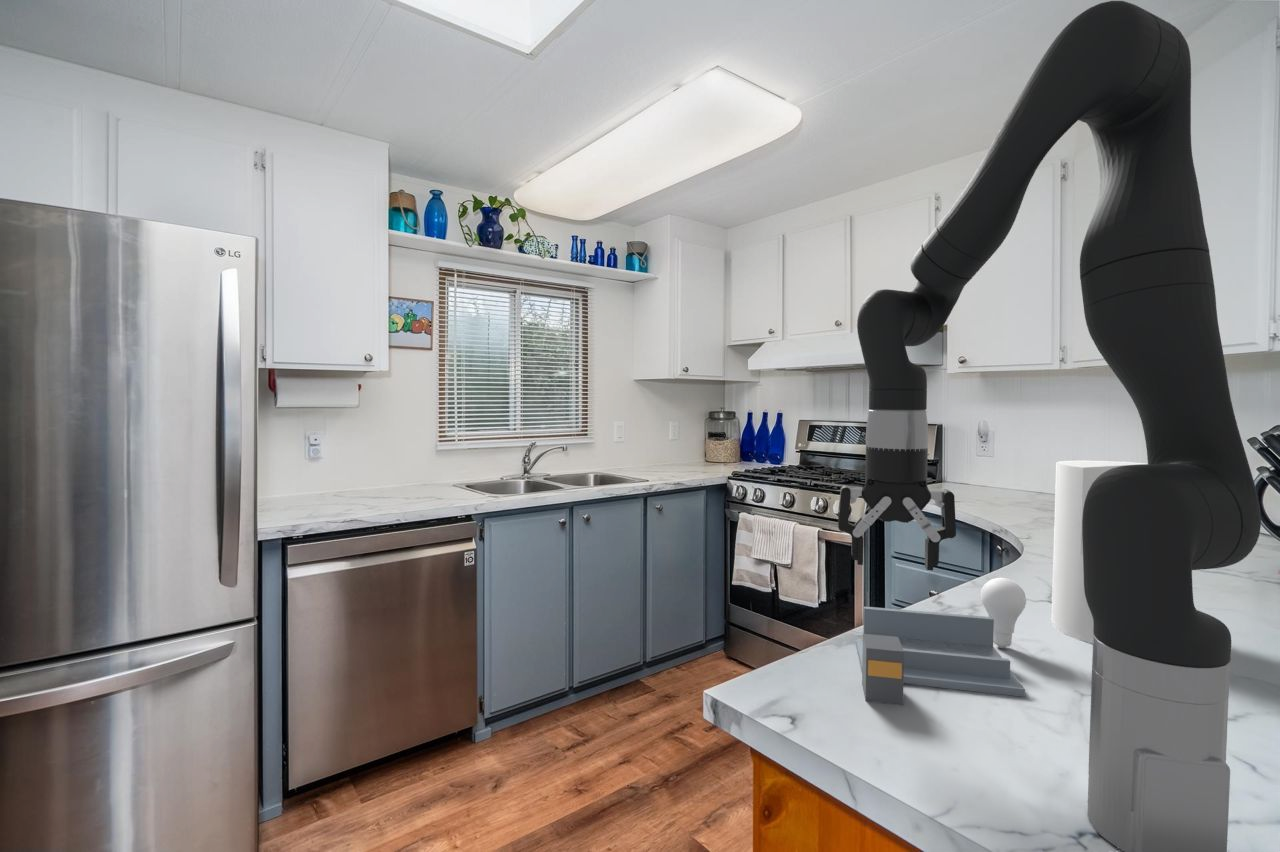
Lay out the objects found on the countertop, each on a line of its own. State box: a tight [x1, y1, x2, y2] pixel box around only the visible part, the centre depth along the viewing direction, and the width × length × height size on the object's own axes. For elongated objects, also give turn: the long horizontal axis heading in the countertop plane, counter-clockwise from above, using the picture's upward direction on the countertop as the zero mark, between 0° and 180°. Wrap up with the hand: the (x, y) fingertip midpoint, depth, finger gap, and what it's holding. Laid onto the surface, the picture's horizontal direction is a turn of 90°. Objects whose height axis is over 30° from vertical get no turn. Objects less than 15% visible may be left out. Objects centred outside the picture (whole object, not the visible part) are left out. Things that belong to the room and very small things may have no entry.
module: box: [861, 633, 904, 706], centre depth 81 cm, size 5×4×7 cm
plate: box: [898, 637, 1003, 658], centre depth 90 cm, size 7×18×2 cm, turn 75°
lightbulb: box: [980, 577, 1027, 649], centre depth 96 cm, size 6×6×11 cm
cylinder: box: [1050, 459, 1148, 645], centre depth 102 cm, size 17×17×28 cm
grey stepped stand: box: [855, 606, 1026, 698], centre depth 89 cm, size 12×20×6 cm, turn 75°
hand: (893, 566), depth 81 cm, fingers open, 8 cm apart
